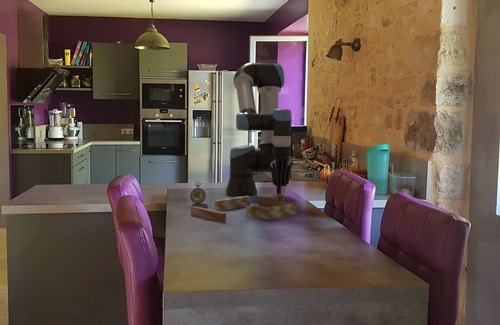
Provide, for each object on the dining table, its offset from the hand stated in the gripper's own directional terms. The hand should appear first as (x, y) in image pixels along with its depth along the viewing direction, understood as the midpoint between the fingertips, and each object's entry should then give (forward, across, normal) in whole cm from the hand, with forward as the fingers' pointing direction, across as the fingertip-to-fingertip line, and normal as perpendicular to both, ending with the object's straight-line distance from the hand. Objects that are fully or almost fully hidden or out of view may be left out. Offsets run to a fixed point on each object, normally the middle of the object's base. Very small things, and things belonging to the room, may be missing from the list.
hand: (280, 201), depth 229 cm
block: (+2, +5, 0) cm, 6 cm away
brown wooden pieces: (+2, +25, +3) cm, 26 cm away
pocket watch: (+2, +28, -20) cm, 34 cm away
